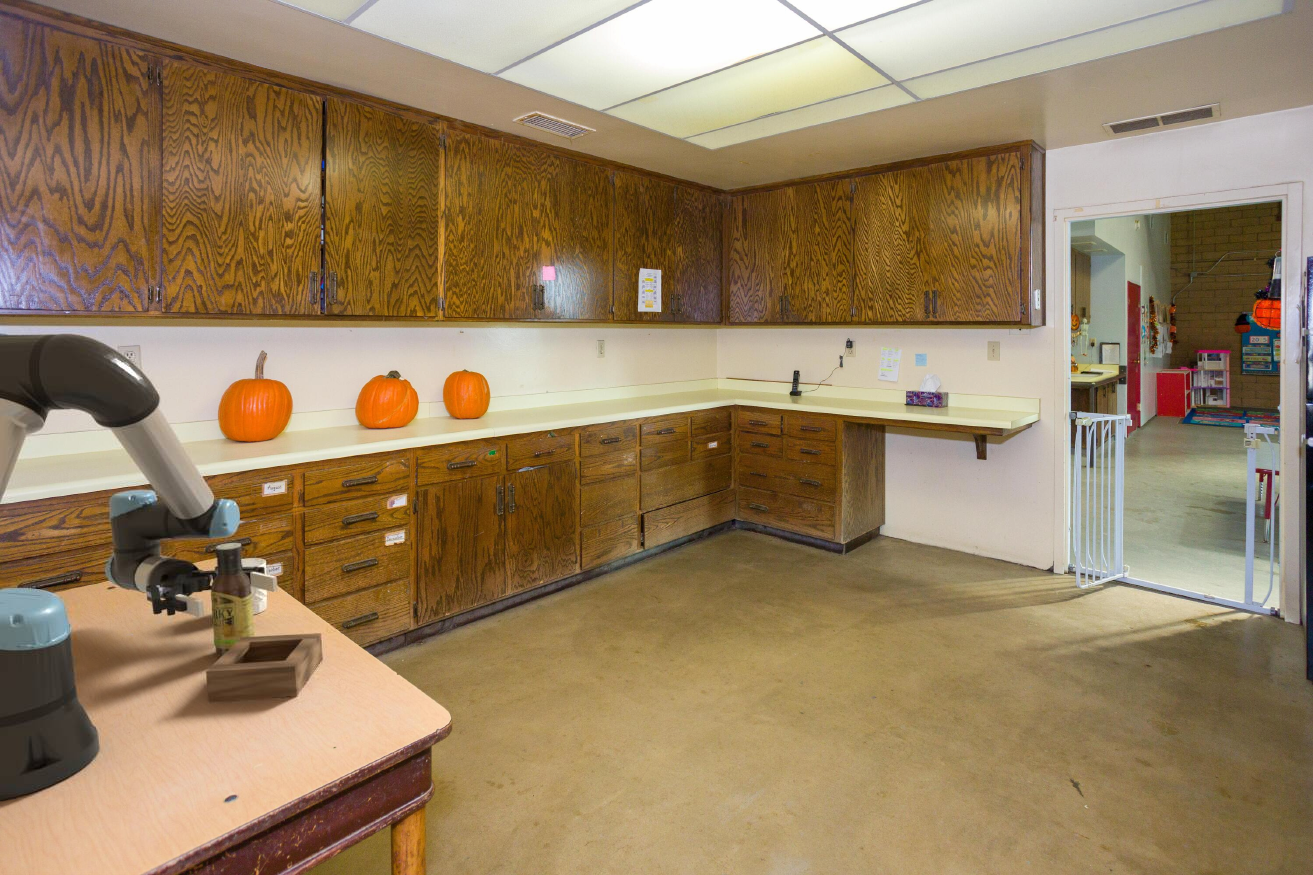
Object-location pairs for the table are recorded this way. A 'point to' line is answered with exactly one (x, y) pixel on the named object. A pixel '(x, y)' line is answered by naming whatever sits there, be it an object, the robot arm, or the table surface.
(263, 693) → the crate
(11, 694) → the robot arm
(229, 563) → the sauce bottle
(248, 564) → the white cup
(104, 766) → the table surface
